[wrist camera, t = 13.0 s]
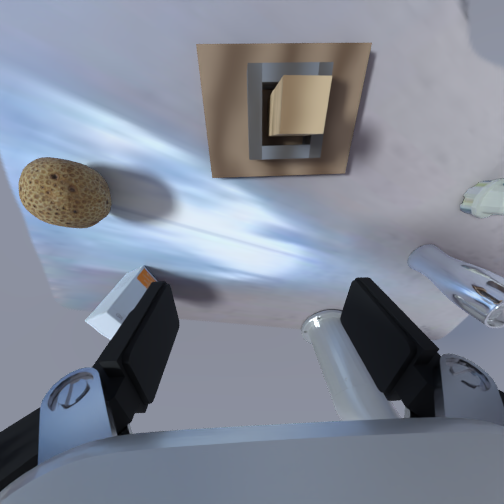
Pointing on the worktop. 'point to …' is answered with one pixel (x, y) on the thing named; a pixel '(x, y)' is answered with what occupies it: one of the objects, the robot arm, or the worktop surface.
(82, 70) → the worktop surface
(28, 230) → the worktop surface
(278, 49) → the peg caddy
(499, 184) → the white handle
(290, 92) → the oak peg
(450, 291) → the beer glass
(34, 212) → the natural sponge
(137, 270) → the skincare box
